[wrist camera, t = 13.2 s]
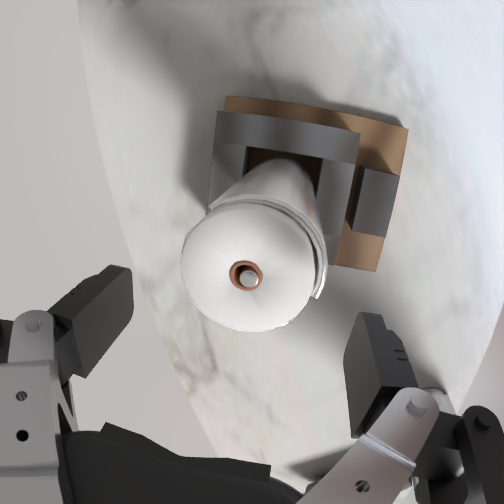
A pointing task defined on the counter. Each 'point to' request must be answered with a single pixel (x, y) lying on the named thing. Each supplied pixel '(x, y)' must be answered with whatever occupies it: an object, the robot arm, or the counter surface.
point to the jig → (319, 167)
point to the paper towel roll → (258, 249)
